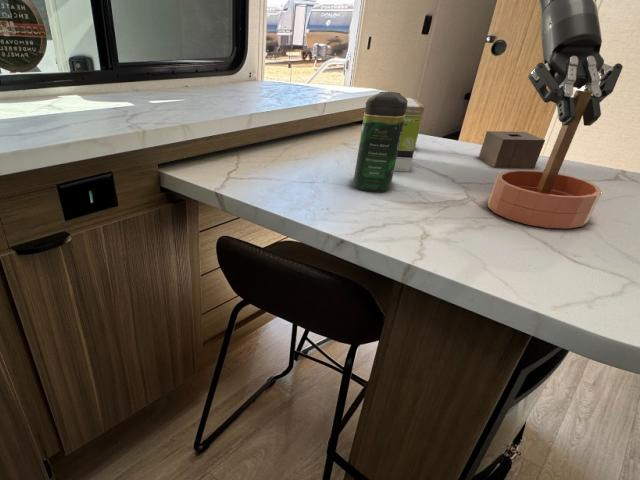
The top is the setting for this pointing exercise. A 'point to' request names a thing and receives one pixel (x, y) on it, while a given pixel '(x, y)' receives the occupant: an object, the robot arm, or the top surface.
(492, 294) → the top surface
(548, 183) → the stirring stick
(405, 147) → the tea box
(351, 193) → the top surface
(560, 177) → the bowl
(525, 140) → the block
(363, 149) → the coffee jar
